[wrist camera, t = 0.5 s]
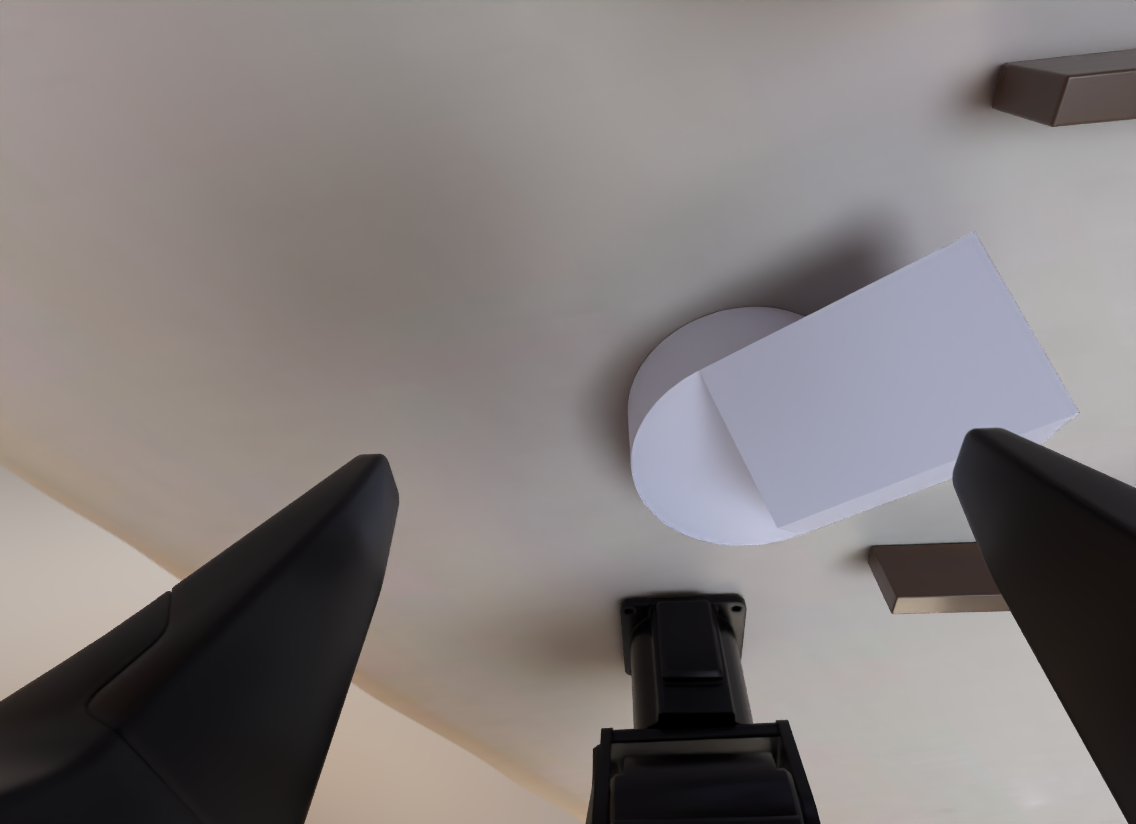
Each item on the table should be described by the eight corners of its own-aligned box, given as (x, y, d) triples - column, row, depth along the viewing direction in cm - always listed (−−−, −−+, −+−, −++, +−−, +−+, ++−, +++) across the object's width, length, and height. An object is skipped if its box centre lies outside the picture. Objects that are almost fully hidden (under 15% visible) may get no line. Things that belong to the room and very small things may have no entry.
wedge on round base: (922, 197, 20) (586, 378, 24) (1047, 278, 14) (581, 493, 19) (987, 393, 24) (690, 516, 28) (1104, 515, 18) (711, 643, 23)
